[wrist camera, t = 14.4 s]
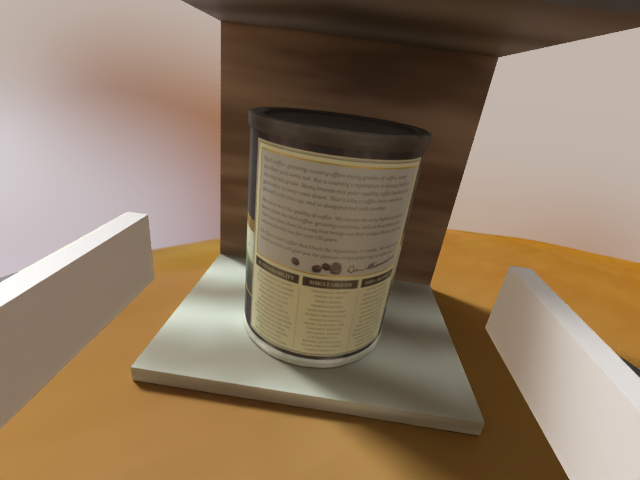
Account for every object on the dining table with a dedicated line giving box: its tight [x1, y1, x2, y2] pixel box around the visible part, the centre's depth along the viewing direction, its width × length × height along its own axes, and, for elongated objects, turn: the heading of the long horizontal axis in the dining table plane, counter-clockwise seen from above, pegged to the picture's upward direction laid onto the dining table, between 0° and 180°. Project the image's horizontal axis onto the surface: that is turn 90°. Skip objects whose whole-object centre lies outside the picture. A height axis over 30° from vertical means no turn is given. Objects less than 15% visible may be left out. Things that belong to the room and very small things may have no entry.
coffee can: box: [243, 107, 431, 368], centre depth 22 cm, size 10×10×14 cm
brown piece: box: [131, 0, 640, 436], centre depth 22 cm, size 16×20×22 cm
